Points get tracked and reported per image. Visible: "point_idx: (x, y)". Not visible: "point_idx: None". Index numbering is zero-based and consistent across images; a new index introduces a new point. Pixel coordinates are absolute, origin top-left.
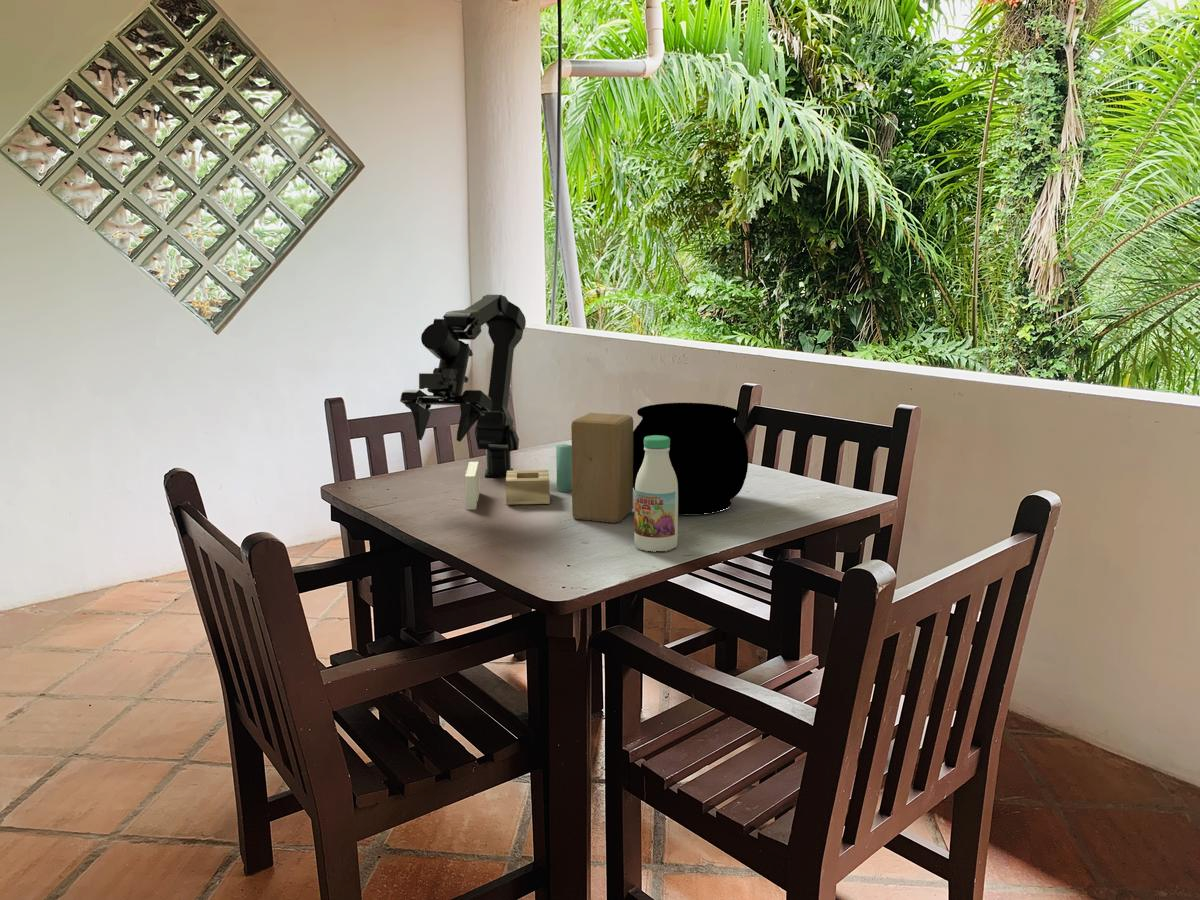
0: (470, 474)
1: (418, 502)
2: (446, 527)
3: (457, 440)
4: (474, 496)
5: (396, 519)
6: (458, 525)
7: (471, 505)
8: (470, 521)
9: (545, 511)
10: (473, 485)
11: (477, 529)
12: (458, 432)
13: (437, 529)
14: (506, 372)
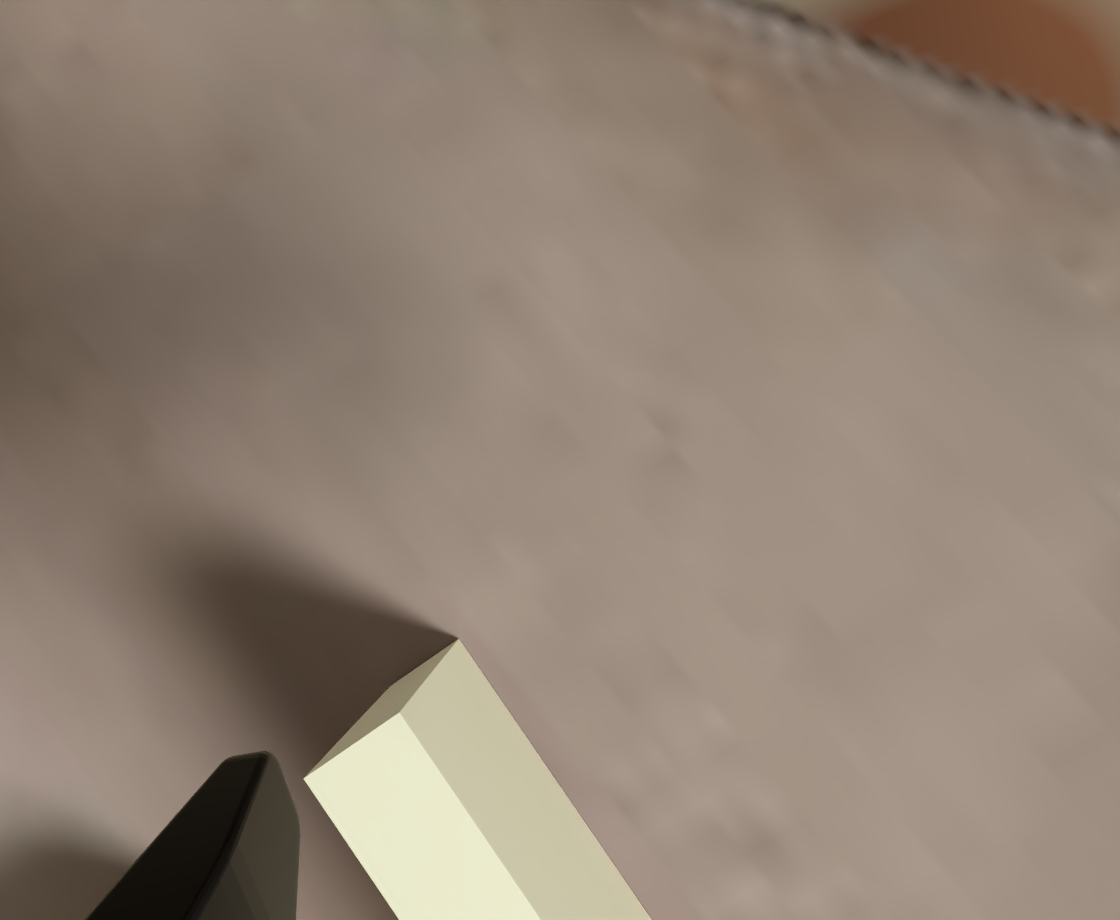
0: (401, 820)
1: (974, 610)
2: (279, 165)
3: (258, 755)
4: (372, 708)
5: (779, 122)
6: (231, 254)
7: (415, 672)
8: (217, 388)
9: None
10: (349, 735)
11: (39, 248)
12: (186, 870)
13: (306, 88)
14: None
